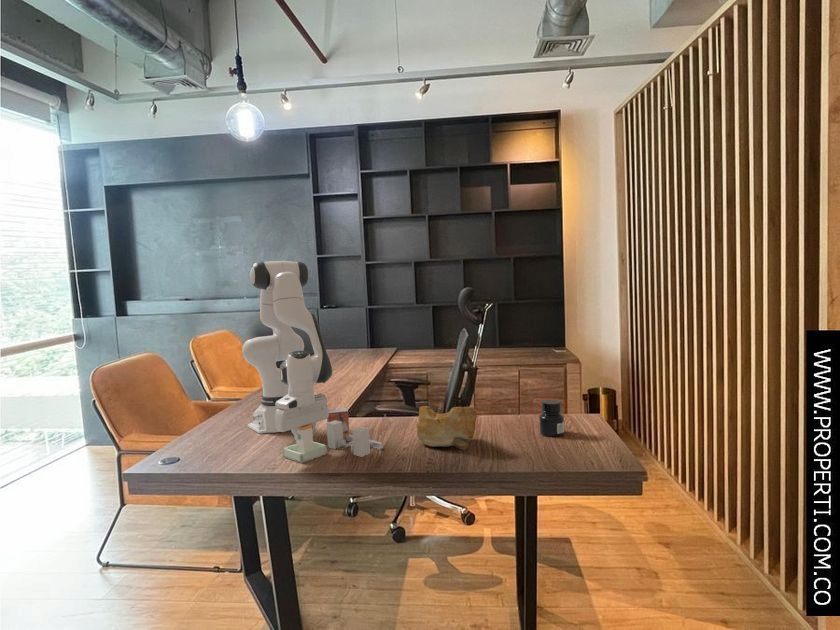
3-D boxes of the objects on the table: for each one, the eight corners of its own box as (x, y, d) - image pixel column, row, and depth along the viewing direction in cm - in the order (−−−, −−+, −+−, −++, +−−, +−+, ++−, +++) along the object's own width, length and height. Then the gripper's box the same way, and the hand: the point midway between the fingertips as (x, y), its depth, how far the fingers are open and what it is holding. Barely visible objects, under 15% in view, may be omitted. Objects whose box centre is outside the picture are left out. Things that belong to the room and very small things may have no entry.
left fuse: (327, 447, 178) (326, 422, 178) (336, 444, 181) (335, 420, 181) (335, 449, 176) (333, 424, 175) (343, 446, 179) (342, 421, 178)
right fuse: (353, 454, 169) (352, 429, 169) (362, 451, 172) (360, 426, 172) (361, 457, 167) (360, 431, 166) (370, 453, 170) (368, 428, 169)
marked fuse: (297, 451, 170) (295, 425, 170) (306, 447, 174) (304, 422, 173) (303, 453, 168) (302, 427, 167) (313, 450, 171) (311, 424, 170)
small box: (328, 440, 186) (327, 413, 185) (327, 436, 192) (325, 409, 191) (349, 437, 188) (348, 410, 187) (348, 433, 194) (346, 407, 193)
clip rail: (329, 446, 179) (328, 438, 179) (349, 439, 186) (349, 431, 186) (362, 456, 167) (362, 447, 167) (383, 448, 175) (383, 439, 174)
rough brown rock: (493, 444, 176) (492, 402, 176) (471, 454, 162) (470, 409, 163) (438, 437, 189) (437, 398, 189) (413, 446, 175) (412, 404, 176)
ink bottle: (565, 438, 177) (564, 405, 176) (540, 437, 179) (539, 405, 178) (563, 429, 186) (562, 398, 185) (539, 429, 188) (538, 398, 187)
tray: (282, 456, 170) (282, 448, 170) (308, 447, 178) (307, 439, 178) (301, 463, 163) (301, 454, 163) (327, 453, 171) (326, 445, 171)
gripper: (320, 391, 179) (322, 428, 180) (271, 403, 164) (273, 444, 165) (331, 393, 175) (333, 431, 176) (281, 406, 160) (284, 447, 161)
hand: (304, 437), depth 170 cm, fingers closed on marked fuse, 4 cm apart
